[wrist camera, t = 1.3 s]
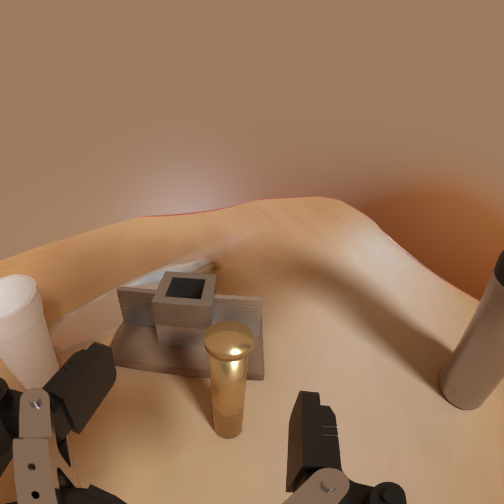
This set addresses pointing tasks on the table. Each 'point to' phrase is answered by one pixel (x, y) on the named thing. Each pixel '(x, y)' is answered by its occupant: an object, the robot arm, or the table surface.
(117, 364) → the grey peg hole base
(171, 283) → the grey winged socket holder
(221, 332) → the brass capped peg
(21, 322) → the foam cup
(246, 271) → the table surface
